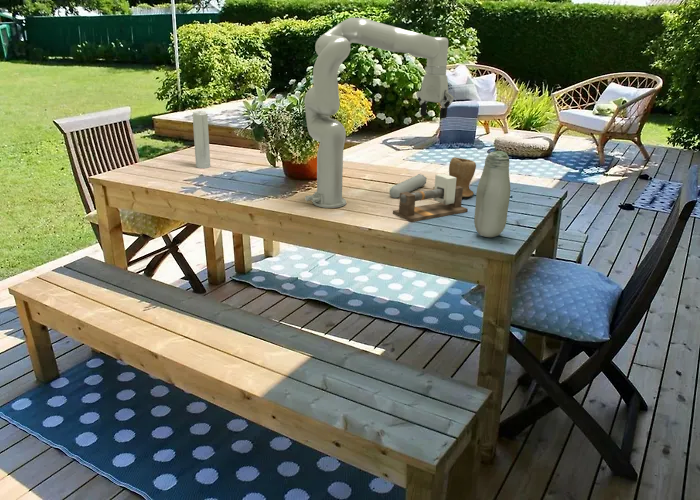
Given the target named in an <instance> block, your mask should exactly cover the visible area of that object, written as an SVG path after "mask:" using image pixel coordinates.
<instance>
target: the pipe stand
mask: <svg viewBox="0 0 700 500" xmlns="http://www.w3.org/2000/svg"><path fill="white" fill-rule="evenodd" d="M462 193H463V188H462V187H460V186H456V189H455V201H454V203H452V204H443V203H441V202H436V203H429V204H424V205H418V206H416V202H418V201H419V202H420V201H426V200H430V199H434V198H438V197H444V189H443V188H442V189H436V190H433V189H430V190H424V191H417V192H402V193H400V197H399V206H398V209H395V210H392V214H393V215H395V216H397V217H399V218H401V219H403V220H406V221H408V222H410V223H415V222H419V221H425V220H431V219H436V218H440V217H441V218H442V217H446V216H447V217H448V216H452V215H457V214H464V213H467V212H468V208H467V207H464V206H462V202H463V201H462V200H463V197H462Z"/></svg>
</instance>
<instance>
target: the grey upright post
mask: <svg viewBox="0 0 700 500" xmlns="http://www.w3.org/2000/svg"><path fill="white" fill-rule="evenodd" d="M208 117H209V116H208V113H207V112H206V111H202V110H201V111H200V110H199V111H198V110H194V111H193V112H192V127H193V140H194V144H193V145H194V157H195V168H197V169H207V168H211V154H210V153H211V152H210V136H209V135H210V133H209V119H208Z"/></svg>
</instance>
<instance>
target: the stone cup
mask: <svg viewBox="0 0 700 500" xmlns="http://www.w3.org/2000/svg"><path fill="white" fill-rule="evenodd" d="M476 169H477V164H476V161H474V160H471V159H466V158H462V157H455V156H454V157H452V158H451V159H450V161H449V166H448V175H450V176H453V177H456V186H460V187H462V188H463V193H462V198H469V197H472V196H473V195H474V191H472V190H471V189H470V183H471V182H472V179H473V178H474V177H475V176H474V175H475V173H476ZM434 188H435V185H434V186H433V188H432V190H434Z"/></svg>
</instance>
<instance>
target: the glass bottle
mask: <svg viewBox="0 0 700 500" xmlns="http://www.w3.org/2000/svg"><path fill="white" fill-rule="evenodd" d="M510 180H511V179H510V157H509V155H508V154H507V152H505V151H502V150H494V151H491V152H489V153H488V154H487V156H486V157H485V159H484V167H483V170H482V173H481V176H480V179H479V181H478V184H477V187H476V194H475V195H476V196H475V197H476V198H475V207H474V208H475V209H474V219H473V220H474V222H473V224H474V228H475V231H476V232H477V234H479V235H480V236H481V237H486V238H496V237H499V235H501V234H502V233H503V232H504V229H505V228H506V225H507V220H508V213H509V212H508V211H509V205H510V197H511V181H510Z"/></svg>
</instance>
